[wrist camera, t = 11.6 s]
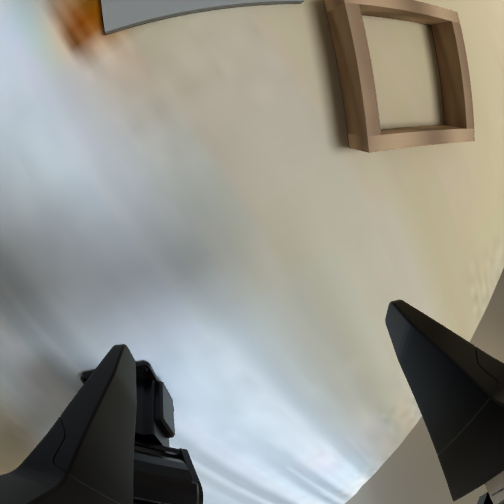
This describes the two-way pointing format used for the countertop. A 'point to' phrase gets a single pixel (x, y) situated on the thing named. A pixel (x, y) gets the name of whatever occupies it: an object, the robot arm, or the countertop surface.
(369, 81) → the walnut holder
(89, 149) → the countertop surface
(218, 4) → the slate mat
